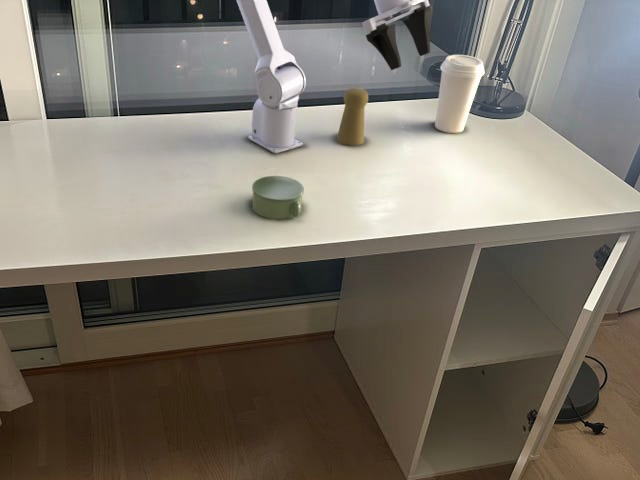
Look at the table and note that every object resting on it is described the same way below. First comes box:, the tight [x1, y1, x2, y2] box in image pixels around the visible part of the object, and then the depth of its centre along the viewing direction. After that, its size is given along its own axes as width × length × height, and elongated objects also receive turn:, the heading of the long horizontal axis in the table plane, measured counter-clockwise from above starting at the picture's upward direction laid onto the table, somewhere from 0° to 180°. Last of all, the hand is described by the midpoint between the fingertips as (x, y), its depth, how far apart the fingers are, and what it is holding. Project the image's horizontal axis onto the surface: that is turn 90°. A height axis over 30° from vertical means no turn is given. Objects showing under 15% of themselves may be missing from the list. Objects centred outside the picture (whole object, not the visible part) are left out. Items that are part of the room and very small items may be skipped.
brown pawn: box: [336, 87, 369, 147], centre depth 152 cm, size 6×6×11 cm
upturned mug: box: [251, 175, 305, 220], centre depth 129 cm, size 11×9×4 cm
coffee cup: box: [434, 54, 485, 134], centre depth 158 cm, size 10×10×15 cm
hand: (411, 61), depth 126 cm, fingers open, 7 cm apart
